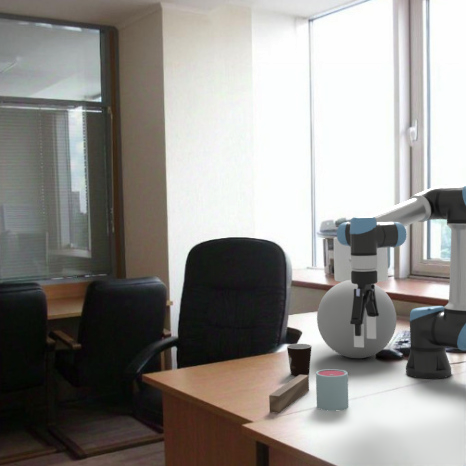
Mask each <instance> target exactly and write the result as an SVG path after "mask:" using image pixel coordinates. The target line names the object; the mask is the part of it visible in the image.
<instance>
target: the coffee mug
mask: <svg viewBox="0 0 466 466" xmlns="http://www.w3.org/2000/svg"><path fill="white" fill-rule="evenodd" d="M286 349H287V357H288V364H289V371H290V375H291V376H292V377H297V376H298V375H309V376H310V368H311V357H312V345H311V344H307V343H292V344H288V345H286Z"/></svg>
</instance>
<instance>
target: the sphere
mask: <svg viewBox="0 0 466 466" xmlns="http://www.w3.org/2000/svg"><path fill="white" fill-rule="evenodd" d="M374 285H375V296H376V302H377V308H378V313H379V316H375V317H376V339H369V338H367V319H366V317H367V316H368V315H367V311H366V308H365V312H364V317H363V323H362V324H364V347H363V348H362V347H354V324H350V321H351V316H352V308H353V299H354V289H357V288H358V285H357V284H353V283H352V282H351V280H347V281H344V282H339V283H337V284H335V285H333V286H332V287H331V288H330V289H329V290H328V291H327V292H326V293H325V294H324V295H323V296H322V298H321V300H320V302H319V305H318V308H317V313H316V314H317V315H316V322H317V328H318V331H319V334H320V336H321V338H322V339H323V341H324V343H325V344H326V345H327V346H328V347H329V348H330V349H331V350H332V351H334V352H335V353H336V354H339V355H341V356H343V357H345V358H346V357H347V358H350V359H364V358H368V357H372V356H374V355H376V354H379V352H382V350H383V349H385V348H386V347H387V346H388V344H389V343H390V342H391V340H392V339H393V336H394V334H395V331H396V327H397V312H396V308H395V304H394V302H393V301H392V299H391V297H390V296H389V295H388V293H387V292H386V291H385V290H384V289H382V287H381V286H379V285H377V284H374ZM368 317H369V316H368Z"/></svg>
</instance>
